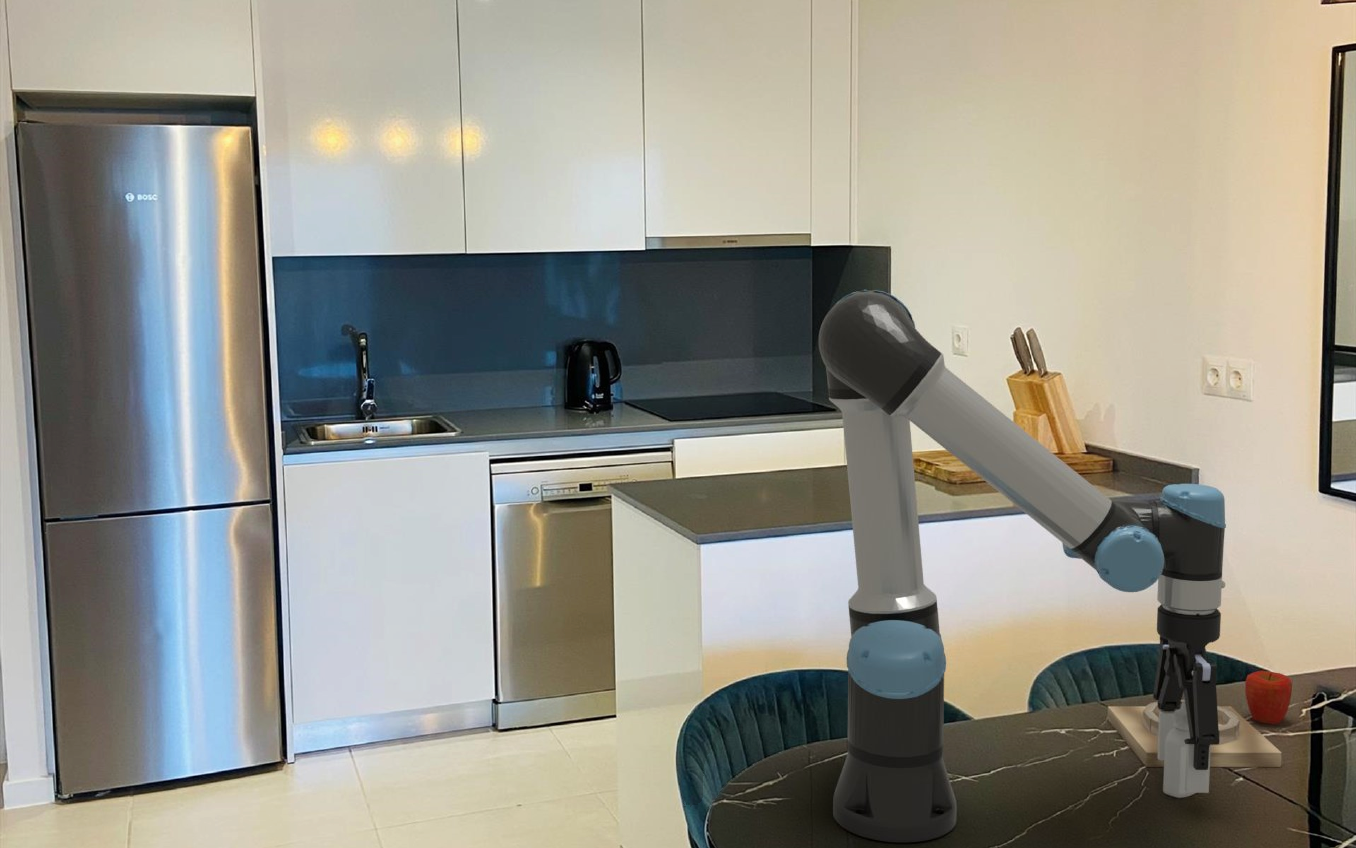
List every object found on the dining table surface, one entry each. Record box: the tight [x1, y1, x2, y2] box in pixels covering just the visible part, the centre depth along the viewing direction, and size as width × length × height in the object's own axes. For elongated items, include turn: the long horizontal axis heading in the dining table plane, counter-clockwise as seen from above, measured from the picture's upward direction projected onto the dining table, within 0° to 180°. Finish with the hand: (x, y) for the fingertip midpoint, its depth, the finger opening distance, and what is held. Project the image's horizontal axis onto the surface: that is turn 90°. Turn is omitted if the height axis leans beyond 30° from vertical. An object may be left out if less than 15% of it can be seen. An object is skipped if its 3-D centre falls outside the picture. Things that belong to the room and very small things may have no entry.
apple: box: [1244, 670, 1293, 725], centre depth 194 cm, size 6×6×8 cm
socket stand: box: [1106, 699, 1283, 768], centre depth 187 cm, size 18×18×4 cm
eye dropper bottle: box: [1162, 701, 1196, 799], centre depth 170 cm, size 4×6×12 cm
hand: (1182, 775), depth 170 cm, fingers open, 10 cm apart
